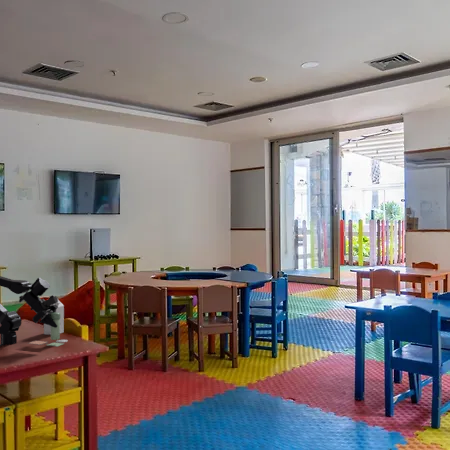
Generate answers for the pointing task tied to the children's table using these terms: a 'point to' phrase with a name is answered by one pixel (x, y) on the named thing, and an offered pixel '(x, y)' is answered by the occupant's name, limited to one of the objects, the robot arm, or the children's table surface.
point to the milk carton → (61, 310)
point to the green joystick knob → (56, 331)
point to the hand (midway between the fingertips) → (58, 326)
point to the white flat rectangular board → (50, 343)
